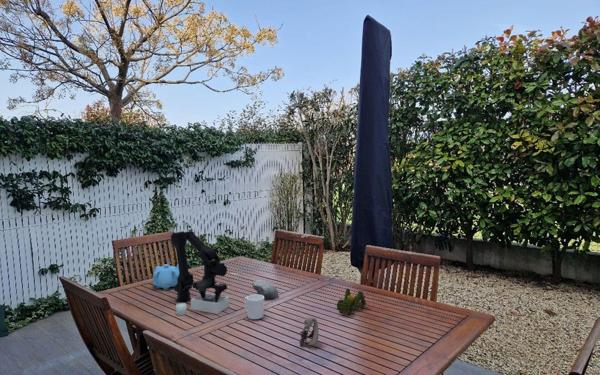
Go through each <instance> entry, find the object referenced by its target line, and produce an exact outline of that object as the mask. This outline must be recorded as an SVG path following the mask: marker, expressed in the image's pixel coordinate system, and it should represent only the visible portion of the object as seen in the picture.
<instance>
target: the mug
mask: <svg viewBox="0 0 600 375" xmlns="http://www.w3.org/2000/svg"><path fill="white" fill-rule="evenodd" d="M243 301H244V302H243V303H244V305H245V308H246V310H247V319H248V320H251V321H259V320H262V319H264V312H265V310H264V309H265V306H264V305H265V304H264V303H265V298H264V296H263V295H258V293H257V294H250V295H247V296H245V297H244V299H243Z"/></svg>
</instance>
